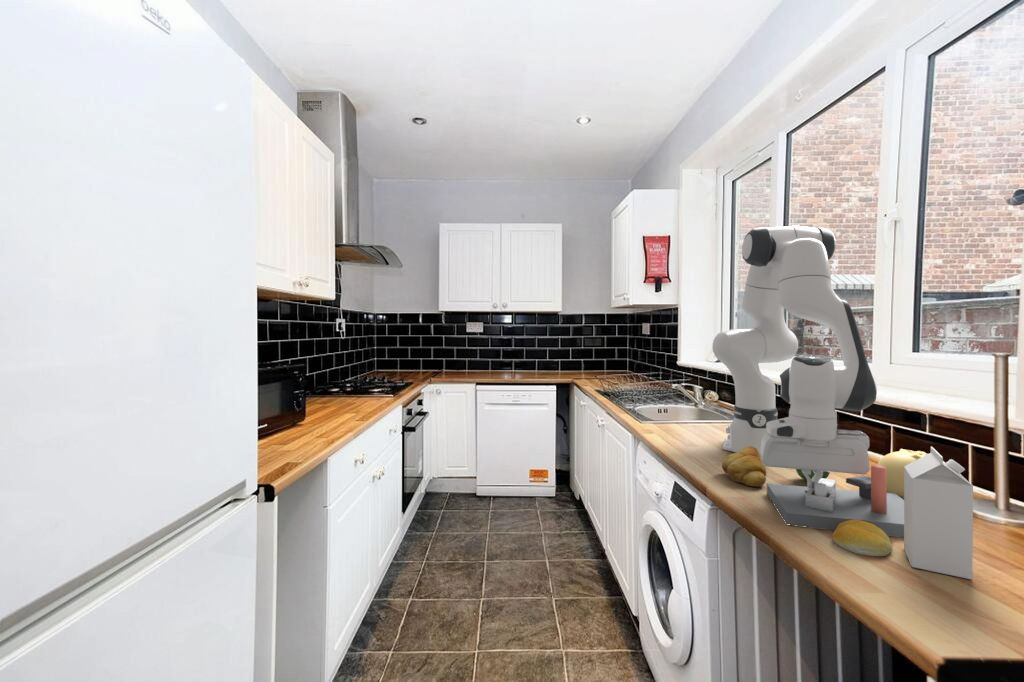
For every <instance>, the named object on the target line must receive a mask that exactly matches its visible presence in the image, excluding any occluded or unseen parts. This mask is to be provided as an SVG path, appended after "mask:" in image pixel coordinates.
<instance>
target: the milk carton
mask: <svg viewBox="0 0 1024 682" xmlns="http://www.w3.org/2000/svg"><path fill="white" fill-rule="evenodd" d="M964 471H966V469H965V467H963V466H962V465H961V464H960V463H958V462H957V461H955V460H954V459H952V458H951V459H950V458H949V460H948V461H946V462H945V461H944V458H943V456H942V455H941V454H940V453H939V452H938V451H937V450H936V449H935V448H934V447H933V446H930V453H927V455H925V456H923V457H921V458H919V459H918V460H916V461H914V462H912V463H910V464H908V465H906V466H904V498H903V500H904V537H903V549H904V551H905V554H906V557H907V559H908V560H909V564H910V566H911V568H915V569H921V570H925V571H929V572H935V573H938V574H944V575H949V576H954V577H957V578H962V579H967V580H973V571H974V570H973V566H974V565H973V562H974V561H973V559H974V558H973V556H974V555H973V551H974V550H973V548H974V545H973V544H974V540H973V539H974V535H973V534H974V530H973V529H974V487H973V484H971V483H970V482H969V481H968V480H967V478H965V477H964V476H963V475H962V474H961V473H962V472H963V473H964Z"/></svg>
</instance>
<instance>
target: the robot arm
mask: <svg viewBox="0 0 1024 682" xmlns="http://www.w3.org/2000/svg"><path fill="white" fill-rule="evenodd" d="M835 250H836V237H835V235H834V233H833V231H831V230H830V229H828V228H825V227H819V226H814V227H810V226H804V225H802V226H800V225H789V226H775V227H774V226H773V227H765V226H763V227H761V226H760V227H757V228H752V229H750V231H748V232H747V233H746V234H745V236H744V239H743V242H742V246H741V255H742V259H743V260H744V261H745V263H746V264H748V265H750V266H749V270H748V273H747V277H746V282H745V287H744V291H743V298H742V303H741V305H742V309H743V312H744V313H745V314H747V316H749V317H751V318H752V319H753V321H754V326H753V327H752V328H733V329H727V330H724V331H720V332H719V333H717V334H716V335H715V337H714V339H713V341H712V352H713V354H714V356H715V358H716V359H717V361H719V362H721V363H722V364H724V365H725V367H726V368H727V369H728V371H729V372H730V374H731V376H732V380H733V383H734V393H735V396H734V397H735V398H734V399H735V405H734V407H733V417H734V418H733V419H732V421H731V423H730V424H729V425H726V426H725V433H726V434H727V436H725V439H724V442H723V445H722V450H725V451H728V452H733V453H738V452H739V451H741V450H742V449H743V448H745V447H748V446H752V447H754V448H756V449H757V450H758V451H759V453H760V459H761V461H762V463H763V464H764V465H765V467H766V468H777V469H778V468H779V469H790V470H791V469H792V470H796V469H802V473H803V474H804V476H805V477H806V479H807V481H806V482H807V483H806V487H808V489H809V488H812V489H814V487H815V483H818V481H819V480H820V479H821V478H822V476H823V471H827V472H830V473H841V474H852V475H853V474H854V475H866V474H868V473H869V472H870V471H871V465H870V464H871V463H870V458H869V452H868V450H869V448H870V437H869V436H868V435H867V434H866V433H865V432H863V431H861V430H858V429H853V430H852V429H845V428H843V429H841V428H838V419H837V416H838V415H837V411H836V409H841V410H844V411H852V412H860V411H863V410H865V409H867V408H869V407H871V405H873V404H875V402H876V400H877V395H878V394H877V393H878V389H877V388H878V387H877V384H876V381H875V378H874V376H873V374H872V371H871V368H870V366H869V363H868V359H867V357H866V353H865V349H864V345H863V342H862V339H861V334H860V330H859V328H858V324H857V322H856V318H855V315H854V313H853V310H852V307H851V305H850V303H849V302H848V301H846V300H844V299H842V298H840V297H839V296H838V294H837V293H836V291H834V288H833V285H832V276H831V275H832V274H831V268H830V260H831V258H832V257H833V255H834V253H835ZM784 311H786V312H788V313H789V314H791V315H793V316H794V317H797V318H799V319H803V320H806V321H809V322H813V323H816V324H820V325H822V326H824V327H827V328H828V329H830V330H831V331H833V333H834V334H835V336H836V338H837V339H836V340H837V343H838V346H839V350H840V353H841V358H842V362H843V365H842V366H834V361H833V359H832V358H830V357H828V356H826V355H823V354H822V355H821V354H811V353H810V354H809V353H807V354H800V355H797V352H798V350H799V341H798V338H797V336H796V334H795V333H794V332H793V331H791V330H790V329H789V327H788V325H787V324H786V321H785V313H784ZM790 359H792V360H791V362H790V363H791V364H790V367H788V368H786V369H785V370H784V371H782V372H781V373H780V374H779V378H780V393H779V397H780V398H781V399H782V400H784V401H785V402H786V403H788V404H790V408H789V409H788V416H787V417H784V418H779V419H778V415H779V413H778V408H777V407H776V384H775V383H774V381H773V379H771V378H769V377H768V376H767V375H764V374H763V373H762V371H761V370H760V366H759V364H764V363H765V364H769V363H778V362H784V361H788V360H790ZM811 470H813V472H814V473H815V475H814V476H813V478H812V479H810V477H809V475H811ZM808 474H809V475H808Z"/></svg>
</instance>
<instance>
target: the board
mask: <svg viewBox="0 0 1024 682" xmlns="http://www.w3.org/2000/svg"><path fill="white" fill-rule="evenodd" d="M845 483H846V484H849V485H851V486H854V487H858V490H852V489H850V490H849V489H839V488H836V492H835V497H836V505H835V508H834V510H833V512H830V511H825V510H820V509H816V508H811V507H806V503H805V494H806V493H807V491H808V487H807V486H802V485H800V486H799V485H789V484H776V483H775V484H774V483H766V494H768V495H769V496H768V495H767V496H768V498H769V497H770V498H771V499H770V498H769V499H770V501H771V500H772V501H773V503H774V504H775V506H776V507H775V506H774V507H775V509H776V508H777V509H778V511H779V512H778V511H777V512H778V514H779V513H780V514H781V515H780V514H779V515H780V517H781V516H782V517H783V519H784V520H785V522H786V523H785V522H784V523H785V525H786V524H790V525H797V526H796V527H800V526H806V527H805V528H809V527H812V529H819V530H821V529H822V530H831V531H836V527H837V526H838V525H839V524H840V523H842V522H845V521H848V520H861V521H865V522H868V523H871V524H873V525H875V526H877V527H878V528H880V529H881V530H883V531H884V532H885V534H886V535H887V536H888V537H896V538H897V537H898V538H904V498H902V497H899V496H898V495H897V494H893V493H887V513H886V514H880V513H876V512H873V511H872V510H871V476H870V475H869V476H867V475H865V474H861V475H858V476H851V477H850V476H849V477H846V478H845ZM815 495H817V496H822V497H826V485H825V484H822V483H815ZM772 501H771V502H772ZM773 503H772V504H773ZM774 504H773V505H774ZM777 509H776V510H777ZM782 517H781V518H782ZM783 519H782V520H783ZM784 520H783V521H784ZM790 525H789V526H790Z"/></svg>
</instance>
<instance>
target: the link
mask: <svg viewBox="0 0 1024 682" xmlns="http://www.w3.org/2000/svg"><path fill="white" fill-rule="evenodd" d="M836 482H837V481H836V480H834V479H829V478H826V479H824V478H821V479H820V480H819V481H818V483H822V484H825V485H826V497H822V496H817V495H815V487H814V489H812V488H809V489H808V491H807V493H806V494H805V503H806V507H811V508H816V509H820V510H825V511H830V512H833V510H834V508H835V505H836V497H835V492H836V489H837V486H836V484H837V483H836Z"/></svg>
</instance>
